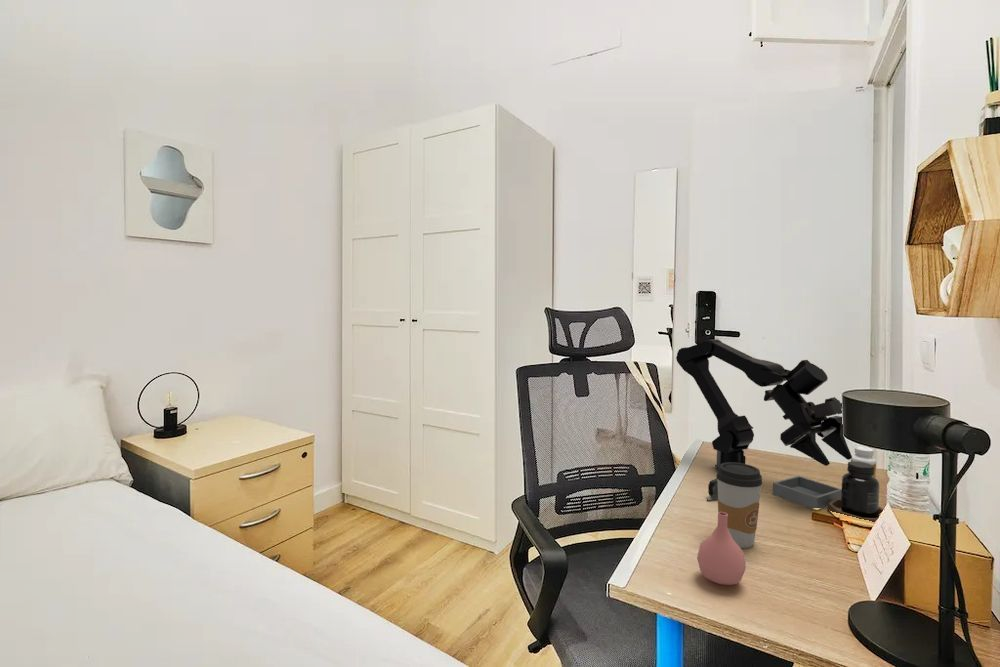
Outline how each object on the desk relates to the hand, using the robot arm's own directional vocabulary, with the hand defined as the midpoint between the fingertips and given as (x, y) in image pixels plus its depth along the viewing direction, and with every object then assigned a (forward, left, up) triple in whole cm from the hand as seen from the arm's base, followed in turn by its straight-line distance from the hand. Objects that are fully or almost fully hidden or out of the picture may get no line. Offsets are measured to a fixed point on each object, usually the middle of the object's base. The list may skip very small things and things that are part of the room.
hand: (839, 461), depth 114 cm
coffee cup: (-29, -18, -11) cm, 36 cm away
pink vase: (-37, -33, -11) cm, 51 cm away
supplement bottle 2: (+3, -4, -11) cm, 12 cm away
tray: (-4, +6, -11) cm, 13 cm away
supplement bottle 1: (+15, +17, -11) cm, 25 cm away
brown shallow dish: (+3, -4, -11) cm, 12 cm away
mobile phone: (-22, +5, -12) cm, 25 cm away
